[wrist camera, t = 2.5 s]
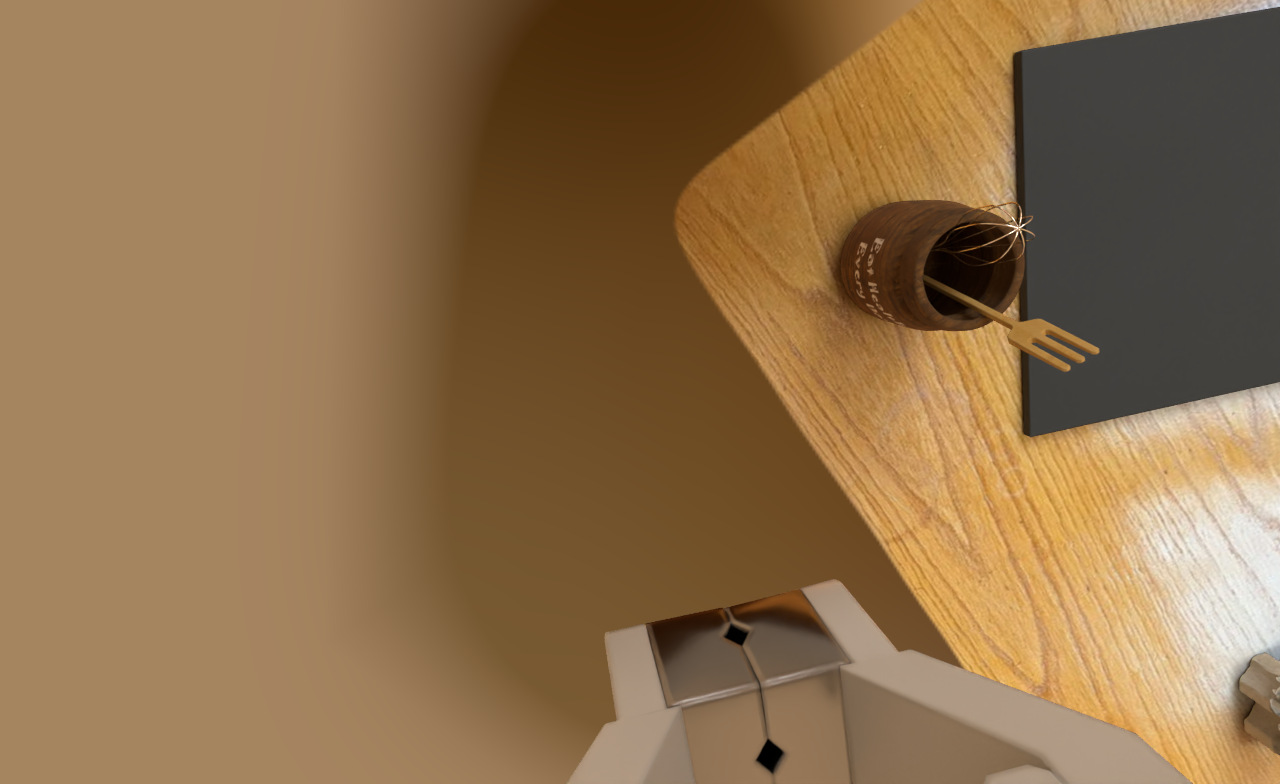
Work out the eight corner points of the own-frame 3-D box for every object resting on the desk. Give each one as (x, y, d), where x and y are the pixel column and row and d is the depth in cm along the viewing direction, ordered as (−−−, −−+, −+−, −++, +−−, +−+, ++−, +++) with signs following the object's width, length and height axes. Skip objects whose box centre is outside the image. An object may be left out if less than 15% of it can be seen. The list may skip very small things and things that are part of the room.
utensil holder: (918, 177, 35) (1100, 162, 24) (964, 286, 37) (1154, 320, 26) (816, 238, 35) (949, 252, 24) (867, 343, 37) (1013, 404, 26)
